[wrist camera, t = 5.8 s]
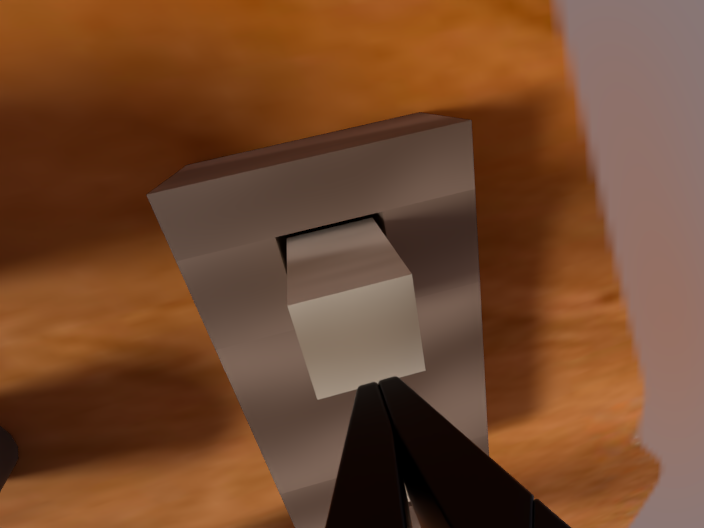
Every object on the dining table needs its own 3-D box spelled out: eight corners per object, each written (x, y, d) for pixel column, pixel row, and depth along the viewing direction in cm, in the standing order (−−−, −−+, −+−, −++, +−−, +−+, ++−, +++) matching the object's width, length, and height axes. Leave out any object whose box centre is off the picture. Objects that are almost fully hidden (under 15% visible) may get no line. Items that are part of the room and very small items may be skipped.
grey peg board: (454, 433, 25) (491, 508, 20) (305, 475, 24) (310, 562, 20) (419, 112, 16) (471, 119, 12) (186, 165, 15) (146, 194, 11)
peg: (385, 291, 14) (425, 370, 10) (307, 311, 14) (317, 400, 10) (372, 217, 13) (411, 274, 9) (286, 238, 13) (287, 306, 9)
